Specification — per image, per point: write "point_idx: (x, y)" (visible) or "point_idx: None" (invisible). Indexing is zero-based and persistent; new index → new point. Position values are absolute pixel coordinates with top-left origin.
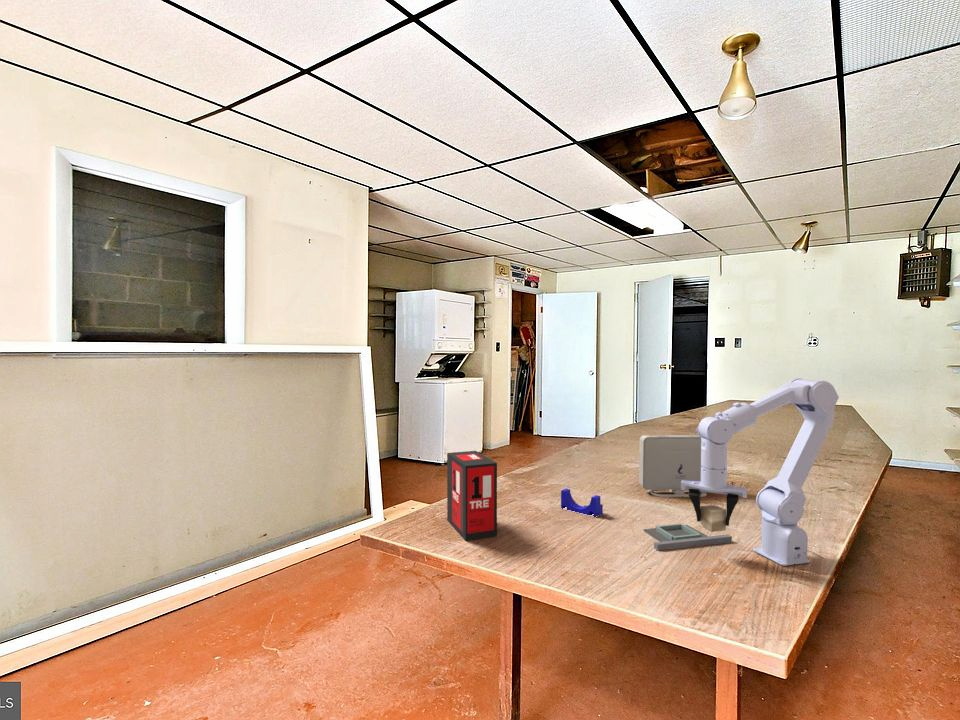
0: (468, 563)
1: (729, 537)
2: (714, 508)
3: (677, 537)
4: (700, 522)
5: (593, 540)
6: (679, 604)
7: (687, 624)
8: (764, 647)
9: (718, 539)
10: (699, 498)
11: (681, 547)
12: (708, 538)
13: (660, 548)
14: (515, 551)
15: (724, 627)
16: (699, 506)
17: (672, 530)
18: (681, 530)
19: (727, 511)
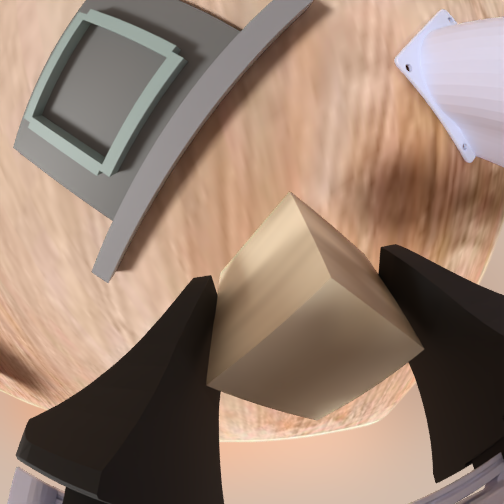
0: (45, 409)
1: (305, 6)
2: (335, 378)
3: (114, 167)
4: (219, 286)
5: (15, 298)
6: (268, 420)
7: (289, 435)
8: (367, 421)
9: (266, 46)
10: (208, 478)
11: (154, 198)
12: (227, 78)
13: (117, 267)
14: (27, 378)
15: (330, 423)
16: (210, 408)
17: (72, 67)
18: (97, 38)
19: (421, 381)
